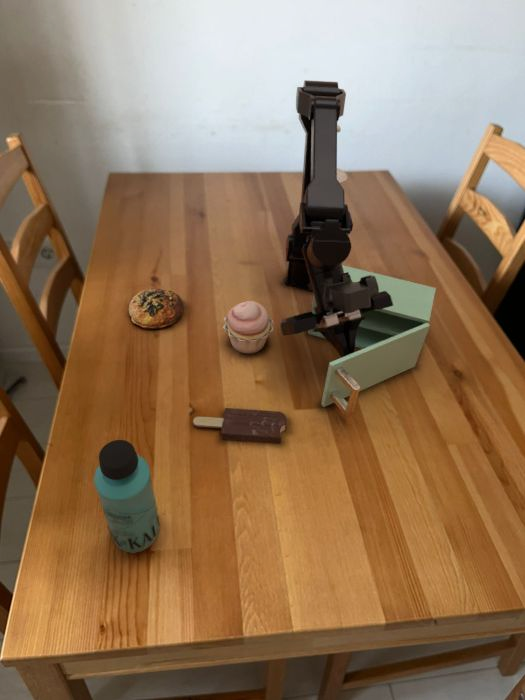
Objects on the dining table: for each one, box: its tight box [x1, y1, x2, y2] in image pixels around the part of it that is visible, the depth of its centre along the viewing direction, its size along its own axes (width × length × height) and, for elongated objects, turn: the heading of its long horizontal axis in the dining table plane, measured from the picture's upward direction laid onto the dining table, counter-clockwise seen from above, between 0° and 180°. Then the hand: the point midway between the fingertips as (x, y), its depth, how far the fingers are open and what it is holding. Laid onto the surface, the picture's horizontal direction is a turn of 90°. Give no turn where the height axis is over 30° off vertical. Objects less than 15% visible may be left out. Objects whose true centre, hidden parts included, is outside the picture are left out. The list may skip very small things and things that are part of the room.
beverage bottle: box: [93, 439, 161, 553], centre depth 62 cm, size 6×7×20 cm
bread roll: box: [128, 287, 185, 330], centre depth 101 cm, size 11×11×5 cm
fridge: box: [307, 264, 437, 350], centre depth 97 cm, size 10×21×11 cm, turn 70°
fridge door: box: [320, 323, 431, 419], centre depth 86 cm, size 6×21×10 cm, turn 120°
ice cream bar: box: [192, 407, 287, 444], centre depth 83 cm, size 5×2×15 cm
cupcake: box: [222, 300, 275, 355], centre depth 94 cm, size 9×9×10 cm
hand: (350, 363), depth 86 cm, fingers closed
